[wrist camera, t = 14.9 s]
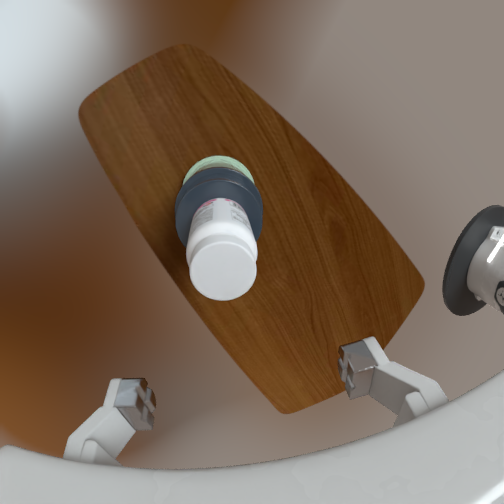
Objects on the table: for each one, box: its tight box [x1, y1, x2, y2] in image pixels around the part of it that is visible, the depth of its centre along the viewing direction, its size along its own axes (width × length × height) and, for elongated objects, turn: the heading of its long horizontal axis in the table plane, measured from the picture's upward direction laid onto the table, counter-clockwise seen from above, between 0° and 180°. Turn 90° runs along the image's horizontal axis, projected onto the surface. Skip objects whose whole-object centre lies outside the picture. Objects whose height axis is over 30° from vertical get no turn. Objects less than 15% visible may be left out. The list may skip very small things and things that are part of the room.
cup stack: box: [175, 155, 263, 248], centre depth 30 cm, size 9×9×12 cm
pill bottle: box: [186, 198, 257, 301], centre depth 21 cm, size 5×5×8 cm
